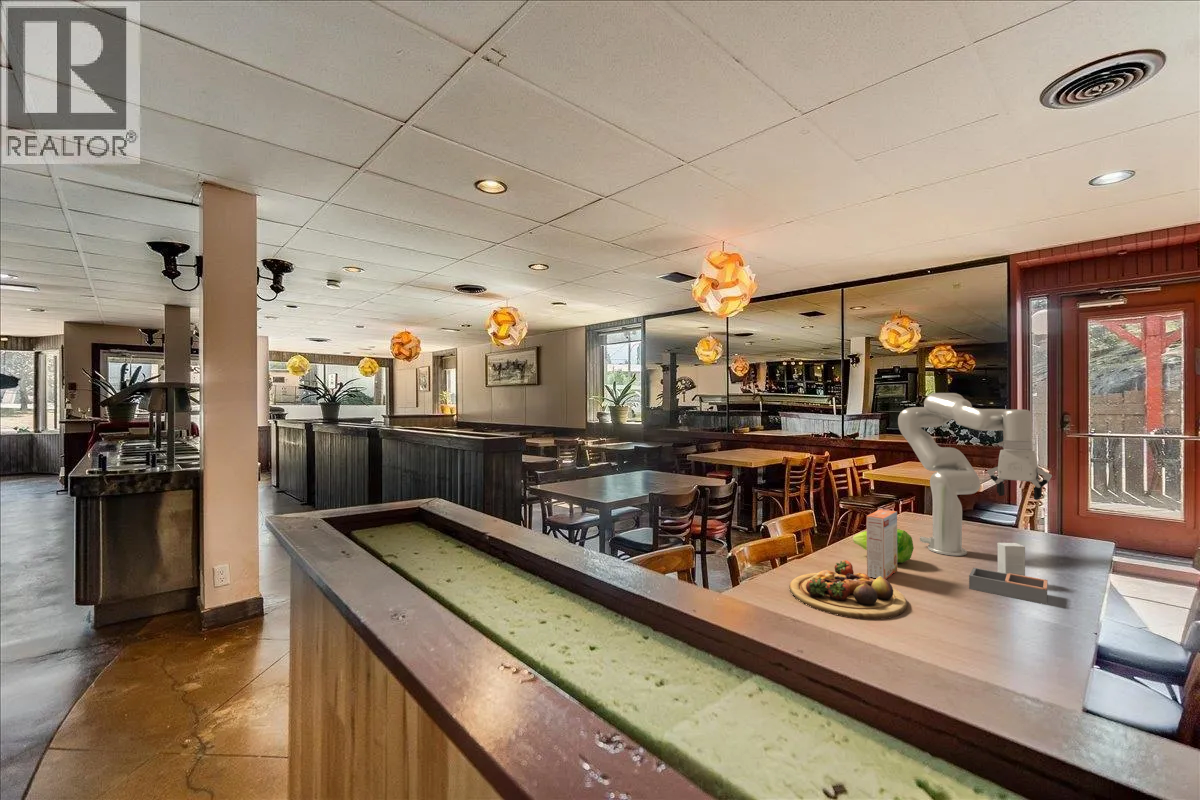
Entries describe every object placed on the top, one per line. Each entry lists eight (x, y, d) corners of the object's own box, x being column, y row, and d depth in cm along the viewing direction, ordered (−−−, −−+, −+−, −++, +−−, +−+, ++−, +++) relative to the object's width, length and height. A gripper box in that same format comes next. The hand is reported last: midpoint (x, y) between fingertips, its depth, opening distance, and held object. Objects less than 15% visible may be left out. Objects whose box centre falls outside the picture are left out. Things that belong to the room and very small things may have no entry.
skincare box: (1016, 578, 171) (1016, 542, 171) (1025, 583, 167) (1025, 546, 167) (996, 578, 172) (996, 542, 172) (1005, 582, 168) (1005, 545, 168)
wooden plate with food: (808, 572, 178) (807, 548, 178) (915, 593, 158) (915, 566, 158) (773, 602, 153) (773, 575, 153) (895, 632, 133) (895, 601, 133)
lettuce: (859, 549, 203) (859, 519, 203) (918, 561, 189) (918, 528, 189) (847, 557, 193) (847, 525, 193) (908, 570, 179) (909, 536, 179)
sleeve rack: (969, 588, 162) (969, 574, 162) (973, 580, 170) (973, 566, 170) (1046, 604, 150) (1046, 589, 150) (1047, 594, 157) (1047, 580, 157)
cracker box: (879, 567, 182) (879, 508, 182) (898, 571, 178) (898, 511, 178) (865, 577, 172) (865, 514, 172) (884, 581, 168) (885, 517, 168)
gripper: (982, 445, 178) (983, 495, 178) (1046, 448, 164) (1048, 502, 164) (991, 444, 183) (992, 493, 182) (1054, 447, 168) (1055, 499, 168)
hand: (1018, 497), depth 173 cm, fingers open, 9 cm apart
